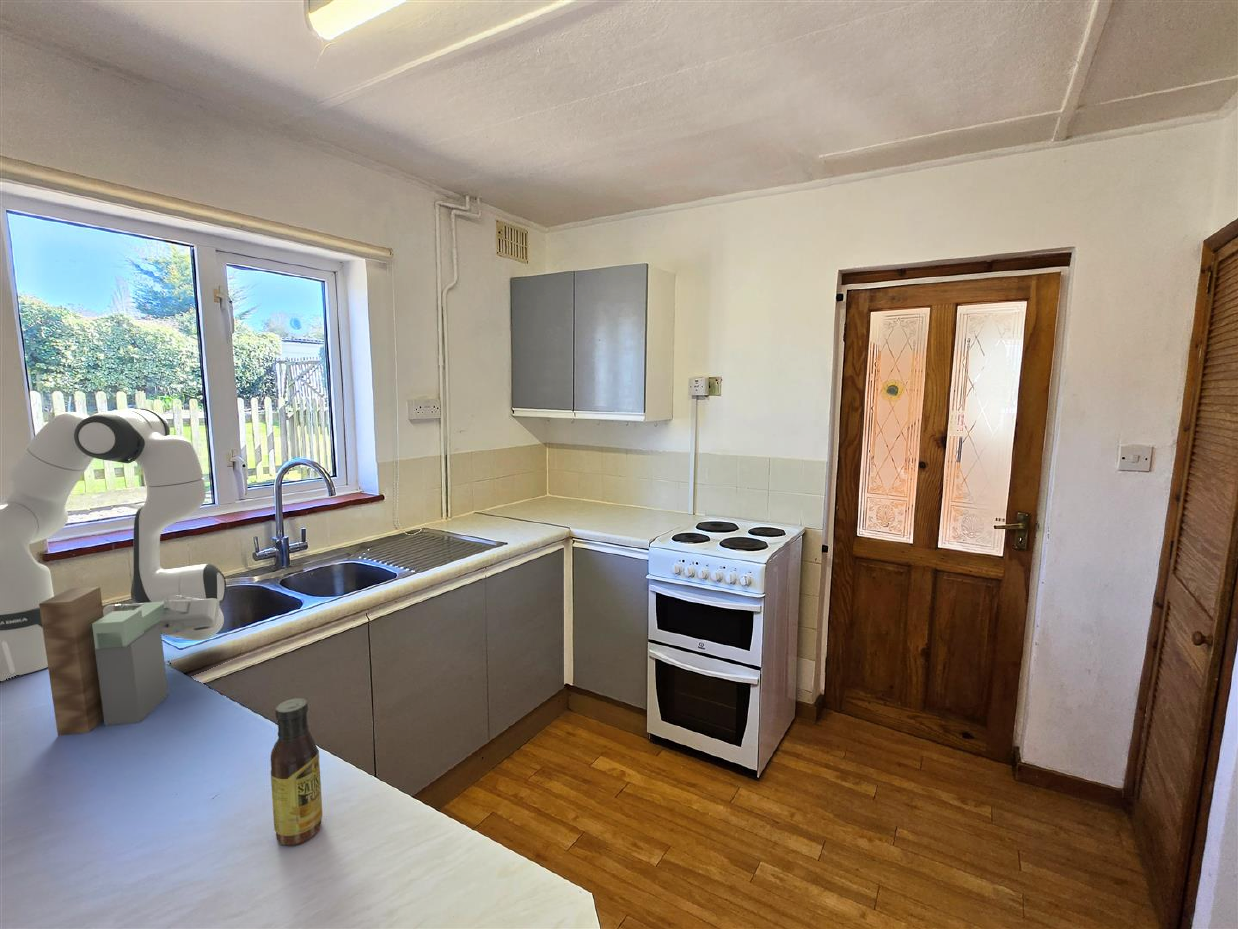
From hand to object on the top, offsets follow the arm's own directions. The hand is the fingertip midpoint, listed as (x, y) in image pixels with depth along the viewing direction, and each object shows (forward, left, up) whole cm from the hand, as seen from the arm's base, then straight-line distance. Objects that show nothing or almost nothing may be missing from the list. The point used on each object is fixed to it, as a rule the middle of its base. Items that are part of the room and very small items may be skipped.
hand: (141, 606), depth 120 cm
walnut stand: (-7, -8, -20) cm, 23 cm away
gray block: (0, -5, -20) cm, 21 cm away
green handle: (0, -3, -4) cm, 5 cm away
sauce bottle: (+43, -47, -20) cm, 67 cm away
